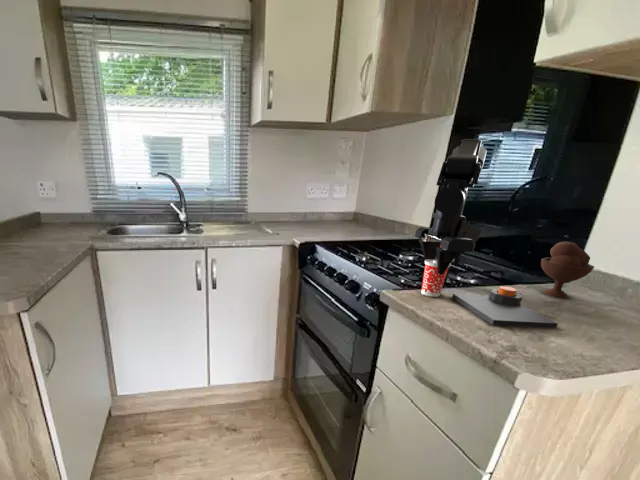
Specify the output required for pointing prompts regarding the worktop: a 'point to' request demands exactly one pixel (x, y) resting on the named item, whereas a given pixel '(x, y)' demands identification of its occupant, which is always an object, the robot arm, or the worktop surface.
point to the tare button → (507, 291)
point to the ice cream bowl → (565, 266)
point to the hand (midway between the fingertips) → (434, 270)
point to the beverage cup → (432, 279)
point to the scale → (503, 310)
